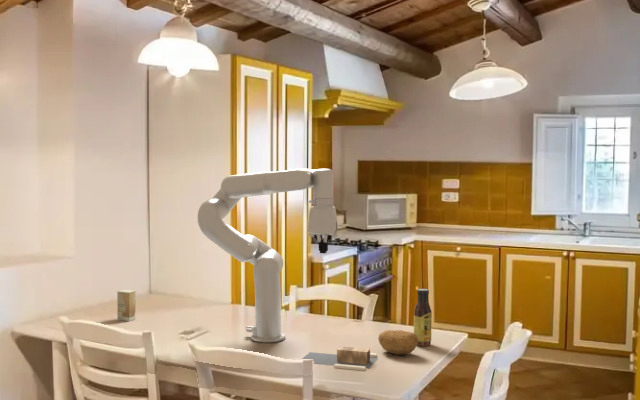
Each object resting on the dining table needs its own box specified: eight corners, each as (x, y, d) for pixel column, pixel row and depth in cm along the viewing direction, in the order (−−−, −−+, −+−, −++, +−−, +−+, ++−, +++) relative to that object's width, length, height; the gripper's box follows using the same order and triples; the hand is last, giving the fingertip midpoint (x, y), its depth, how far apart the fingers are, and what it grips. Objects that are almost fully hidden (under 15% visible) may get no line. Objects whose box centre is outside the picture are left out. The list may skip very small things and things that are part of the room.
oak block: (337, 349, 230) (367, 352, 227) (340, 346, 233) (370, 348, 230) (337, 361, 230) (367, 364, 227) (340, 358, 234) (370, 360, 231)
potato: (385, 347, 248) (385, 325, 247) (422, 353, 240) (422, 330, 240) (372, 354, 239) (372, 331, 239) (410, 360, 232) (411, 336, 231)
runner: (295, 365, 228) (295, 361, 228) (311, 351, 243) (311, 348, 243) (367, 371, 220) (367, 368, 220) (379, 357, 236) (379, 353, 236)
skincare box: (117, 320, 292) (116, 291, 291) (123, 318, 296) (123, 289, 295) (129, 321, 289) (129, 292, 288) (136, 319, 293) (135, 290, 292)
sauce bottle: (426, 348, 247) (427, 292, 245) (410, 345, 250) (410, 290, 249) (434, 343, 252) (434, 288, 251) (418, 341, 256) (418, 287, 254)
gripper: (300, 203, 255) (300, 253, 256) (339, 203, 250) (340, 255, 251) (307, 201, 262) (307, 250, 263) (345, 202, 257) (345, 252, 259)
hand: (323, 252), depth 257 cm, fingers closed
